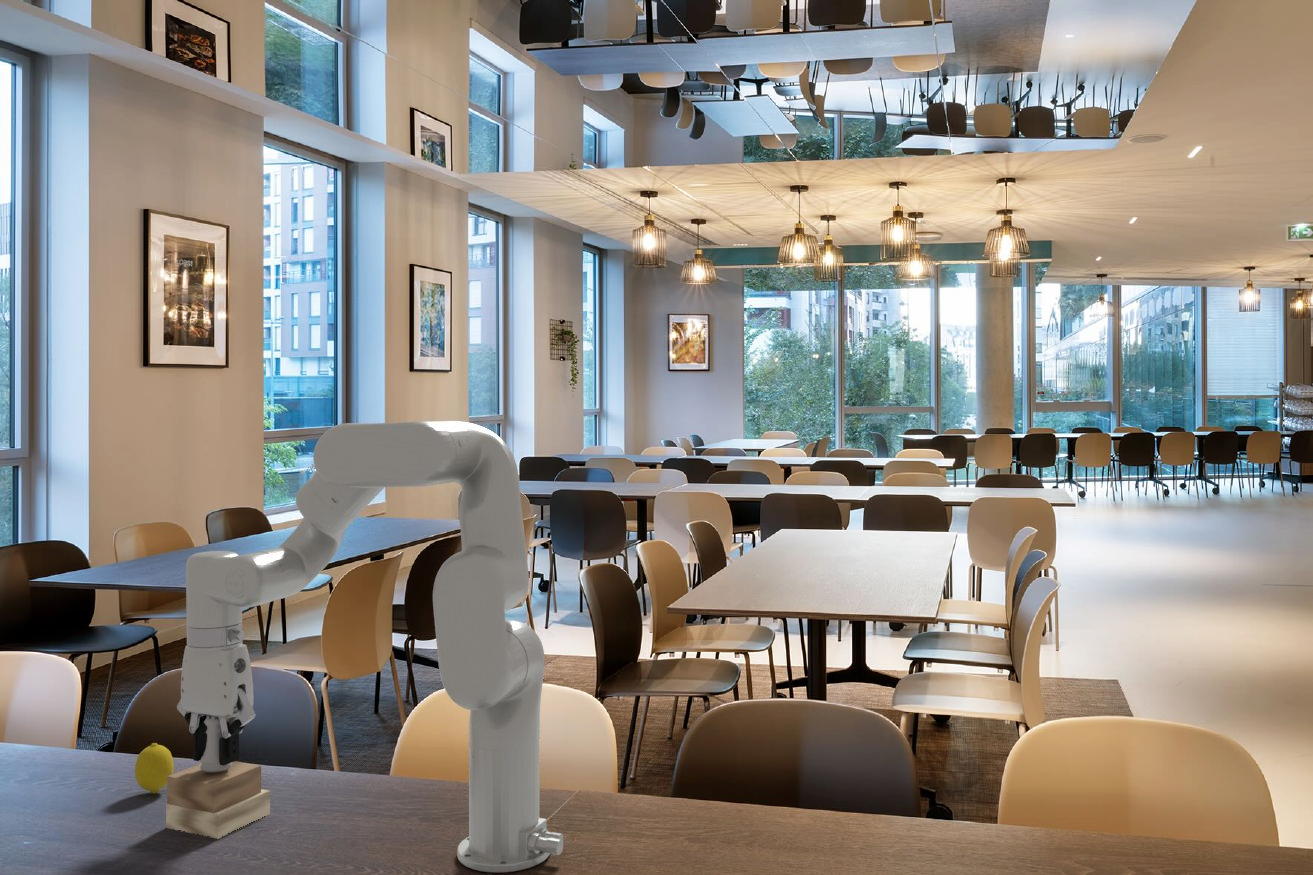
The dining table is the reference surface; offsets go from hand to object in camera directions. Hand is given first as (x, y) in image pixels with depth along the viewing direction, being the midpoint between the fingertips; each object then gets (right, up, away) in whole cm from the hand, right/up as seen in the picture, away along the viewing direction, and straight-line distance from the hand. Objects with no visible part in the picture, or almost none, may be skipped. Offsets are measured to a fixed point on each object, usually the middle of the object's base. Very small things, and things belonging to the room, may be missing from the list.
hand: (216, 759), depth 152 cm
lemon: (-15, -9, +12) cm, 21 cm away
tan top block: (0, -6, 0) cm, 6 cm away
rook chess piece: (0, -2, 0) cm, 2 cm away
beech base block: (0, -10, +1) cm, 10 cm away
